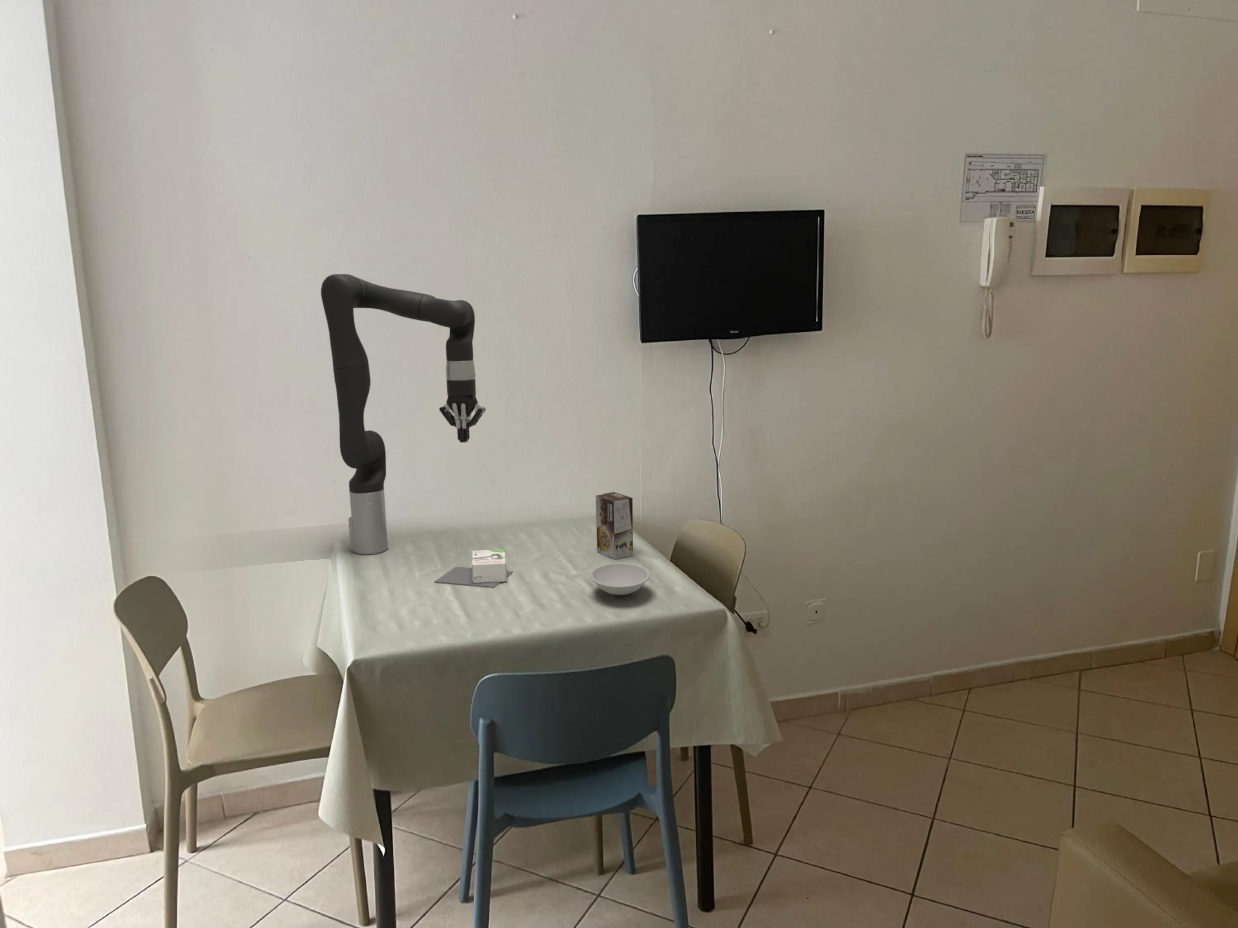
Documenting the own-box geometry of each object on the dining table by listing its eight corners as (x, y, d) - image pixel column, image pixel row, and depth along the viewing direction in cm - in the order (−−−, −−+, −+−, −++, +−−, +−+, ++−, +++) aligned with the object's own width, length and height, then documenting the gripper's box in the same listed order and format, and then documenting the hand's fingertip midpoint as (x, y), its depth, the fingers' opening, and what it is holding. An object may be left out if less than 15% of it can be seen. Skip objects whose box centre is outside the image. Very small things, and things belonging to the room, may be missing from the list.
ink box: (505, 548, 238) (506, 562, 227) (505, 566, 239) (507, 581, 228) (471, 550, 237) (471, 564, 226) (472, 568, 238) (472, 583, 227)
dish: (653, 606, 211) (653, 585, 210) (590, 608, 210) (590, 587, 209) (647, 580, 228) (647, 561, 227) (589, 582, 227) (588, 563, 226)
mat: (434, 582, 229) (434, 581, 229) (455, 567, 240) (455, 566, 240) (493, 587, 224) (493, 586, 224) (512, 572, 236) (512, 571, 236)
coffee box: (634, 555, 248) (633, 497, 245) (614, 559, 245) (613, 501, 241) (615, 547, 256) (614, 491, 252) (595, 551, 252) (594, 494, 249)
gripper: (431, 378, 240) (434, 443, 244) (477, 379, 237) (480, 445, 240) (444, 375, 247) (447, 438, 251) (489, 376, 244) (492, 440, 247)
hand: (463, 441), depth 246 cm, fingers closed
